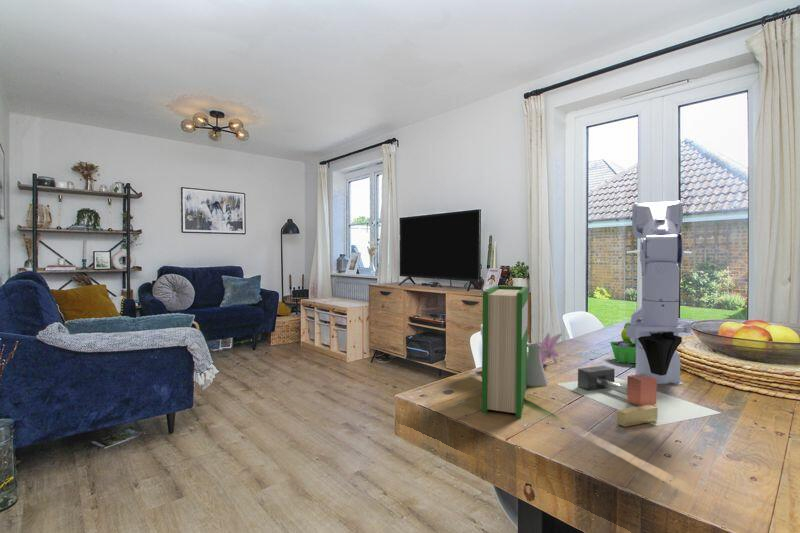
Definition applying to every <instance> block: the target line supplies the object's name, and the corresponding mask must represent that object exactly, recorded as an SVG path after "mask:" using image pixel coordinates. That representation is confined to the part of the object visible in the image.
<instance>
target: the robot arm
mask: <svg viewBox="0 0 800 533" xmlns="http://www.w3.org/2000/svg"><path fill="white" fill-rule="evenodd" d="M631 213H632V214H631V215H632V216H631V218H632V220H631V226H632V233H633V236H634V238H637V239H640V240H639V243H640V245H639V262H640V266H641V275H642V279H641V306H640V307H639V308H637V309H635V310H634V311H632V313H631V315H630V316H631V319H630V322H631V325H628V326H626V336H628V337H630V341H631V342H632V343H634V344H635V338H636V364H635V375H638V374H645V375H649V376H652V377H655V378H657V385H659V384H660V385H661V384H662V385H668V384H669V383H673V384H675V385H678V386H679V385H680V386H684V382H682V381H681V356H680V353H679V352H678V351H677V349H678V348H679V347H680V345H681V344H682V342H683V338H682V336H679V334H681V333H682V334H683V333H685V334H691V333H692V322H689V321H682V320H679V312H680V310H679V308H680V306H679V305H680V302H679V301H680V270H681V269H680V267H681V266H682V265H683V260H684V252H685V251H684V250H685V249H684V248H685V247H684V246H685V244H684V243H685V242H684V238H683V234H682V233H680V232H681V228H682V225H683V217H684V205H683V202H682V201H681V200H674V201H673V200H672V201H656V202H655V201H654V202H653V201H652V202H641V203H640V202H639V203H638V202H634V204H632V212H631ZM678 265H679V266H678Z"/></svg>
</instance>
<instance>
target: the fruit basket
mask: <svg viewBox="0 0 800 533" xmlns="http://www.w3.org/2000/svg"><path fill="white" fill-rule="evenodd" d="M628 325H631V321H630V322H629V321H628V322H626V323H624V326H623V329H622V330H621V334H620V336H621V339H622V340H619V341H610V342H609V343H610V346H611V350H612V352H613V356H614V359H615V358H616V359H615V360H616V361H617V362H618V363H619V362H627V363H626V364H630V363H636V338H635V344H634V343H632V342H631V341H630V337H628V336H626V326H628Z"/></svg>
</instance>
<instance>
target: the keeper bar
mask: <svg viewBox="0 0 800 533" xmlns="http://www.w3.org/2000/svg"><path fill="white" fill-rule="evenodd" d="M616 411H617V416H616V418H617V419H616V420H617V421H616V424H618V425H620V426H622V427H625V428H626V427H630V426H635V425H636V426H637V425H641V424H646V423H648V422H652V421H657V414H658V407H655V406H652V405H644V406H639V407H633V408H627V409H621V410H617V409H616Z"/></svg>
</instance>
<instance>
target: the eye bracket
mask: <svg viewBox="0 0 800 533" xmlns="http://www.w3.org/2000/svg"><path fill="white" fill-rule="evenodd" d="M615 370H616V369H615V368H612V367H610V366H606V365H599V366H598V365H597V366H592V367H591V366H589V367H581V368H578V369H577V381H578V387H579V388H582V389H584V390H587V391H591V390H598V389H605V388H606V387H603V386H601V385H598V384H597V377H599V378H602V379H605V380H608V381H611V382H614V378H615V377H616V376H615V374H616V373H615Z"/></svg>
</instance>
